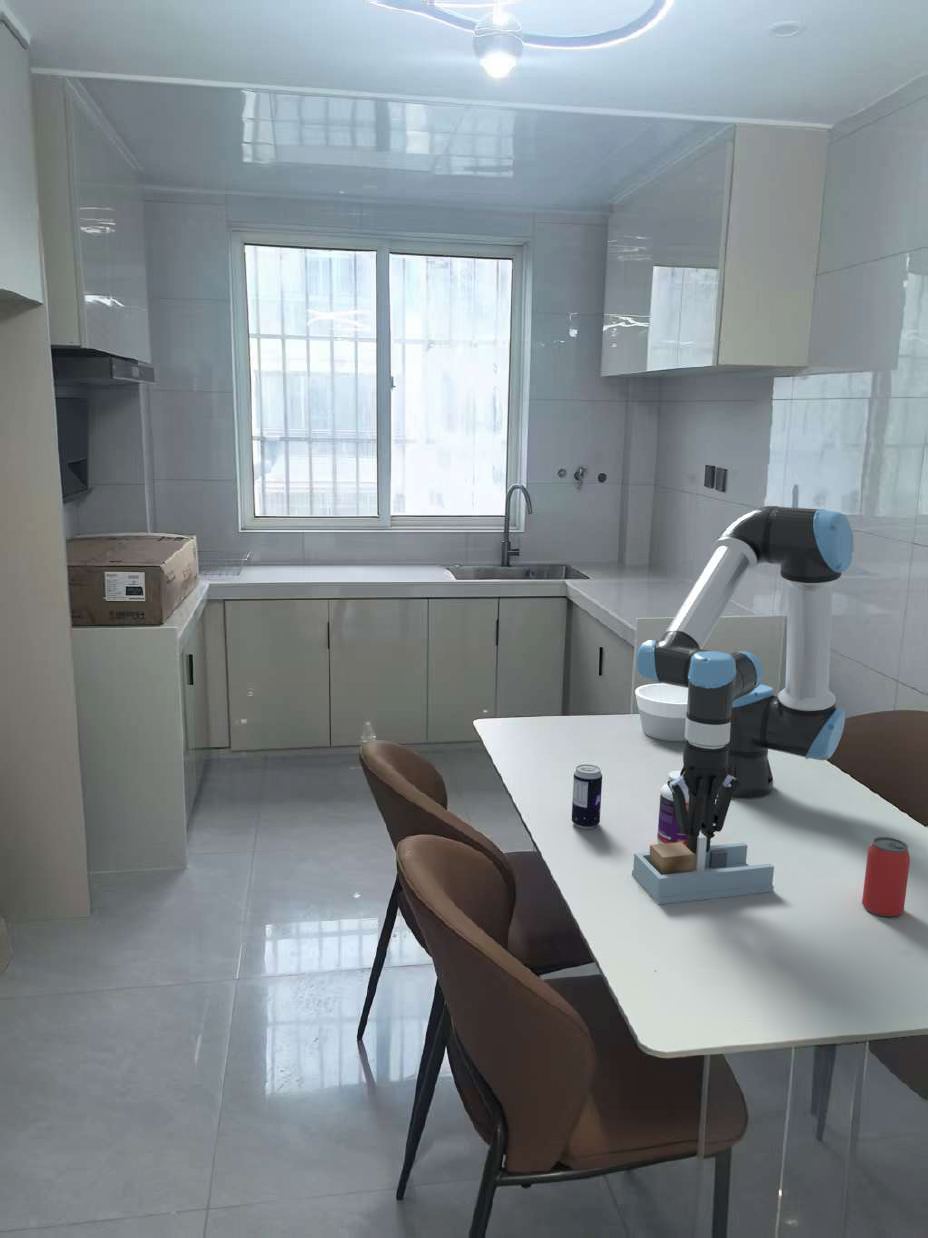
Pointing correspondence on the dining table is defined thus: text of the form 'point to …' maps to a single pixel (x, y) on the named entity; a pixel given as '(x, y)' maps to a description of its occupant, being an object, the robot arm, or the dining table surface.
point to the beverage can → (586, 796)
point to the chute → (706, 877)
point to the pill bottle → (670, 815)
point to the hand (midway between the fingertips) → (696, 868)
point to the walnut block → (671, 858)
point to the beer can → (886, 877)
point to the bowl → (663, 711)
